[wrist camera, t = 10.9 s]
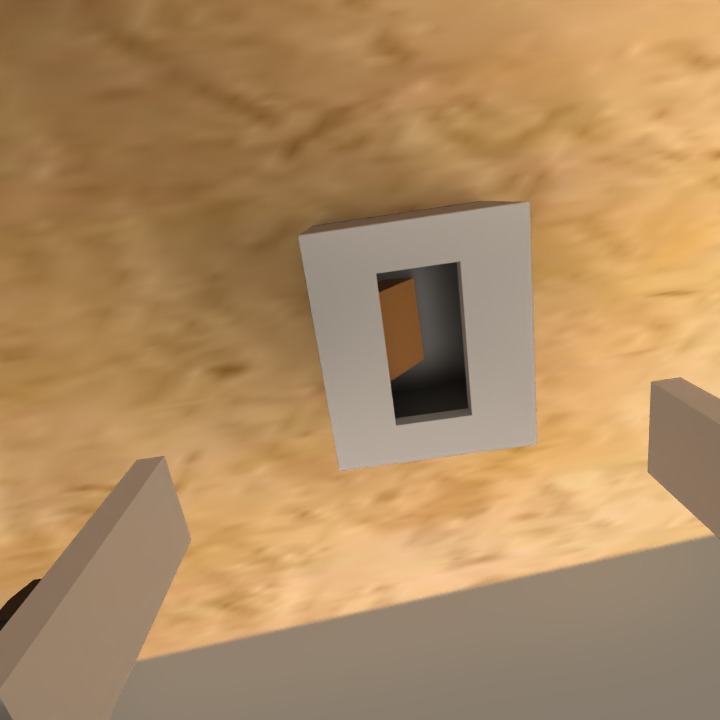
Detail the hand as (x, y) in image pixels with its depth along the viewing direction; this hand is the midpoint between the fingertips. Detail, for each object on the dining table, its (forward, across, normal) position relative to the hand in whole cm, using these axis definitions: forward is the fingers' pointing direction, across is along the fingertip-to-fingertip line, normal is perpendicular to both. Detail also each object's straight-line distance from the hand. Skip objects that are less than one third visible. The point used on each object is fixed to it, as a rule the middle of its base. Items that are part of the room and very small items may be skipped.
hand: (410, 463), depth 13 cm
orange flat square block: (+23, +2, -2) cm, 23 cm away
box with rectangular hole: (+24, +2, -2) cm, 25 cm away
